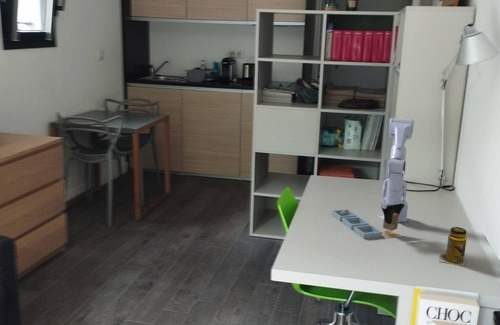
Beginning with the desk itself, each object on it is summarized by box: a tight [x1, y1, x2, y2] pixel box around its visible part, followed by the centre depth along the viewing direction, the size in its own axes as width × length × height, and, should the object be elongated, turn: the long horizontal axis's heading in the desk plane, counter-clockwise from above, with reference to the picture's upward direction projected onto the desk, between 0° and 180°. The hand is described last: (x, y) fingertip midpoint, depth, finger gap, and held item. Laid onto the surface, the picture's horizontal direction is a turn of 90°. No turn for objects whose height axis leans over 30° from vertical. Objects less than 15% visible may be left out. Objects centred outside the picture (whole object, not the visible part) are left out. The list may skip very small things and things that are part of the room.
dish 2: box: [341, 216, 370, 231], centre depth 213 cm, size 8×8×2 cm
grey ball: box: [341, 211, 348, 216], centre depth 222 cm, size 3×3×3 cm
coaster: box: [380, 229, 404, 239], centre depth 205 cm, size 7×7×1 cm
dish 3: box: [353, 224, 383, 240], centre depth 204 cm, size 8×8×2 cm
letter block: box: [382, 213, 399, 231], centre depth 204 cm, size 4×4×6 cm
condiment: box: [438, 226, 468, 267], centre depth 182 cm, size 7×8×12 cm
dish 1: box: [330, 208, 358, 222], centre depth 222 cm, size 8×8×2 cm
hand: (391, 222), depth 204 cm, fingers closed on letter block, 4 cm apart
